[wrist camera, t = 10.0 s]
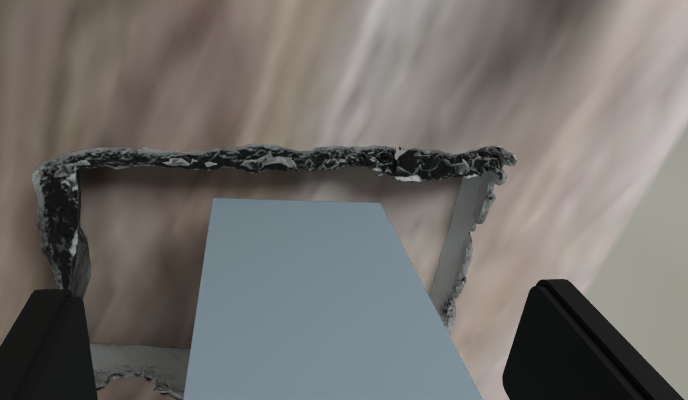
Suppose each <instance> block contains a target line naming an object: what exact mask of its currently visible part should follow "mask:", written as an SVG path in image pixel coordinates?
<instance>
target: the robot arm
mask: <svg viewBox="0 0 688 400" xmlns="http://www.w3.org/2000/svg"><path fill="white" fill-rule="evenodd" d="M503 386H504V389H505V392H506V393H507V395H508V397H509V399H510V400H684V399H683V398H682V397H681V396H680V395H679V394H678V393H677V392H676V391H675V390H674V389H673V388H672V387H671V386H670V385H669V384H668V383H667V382H666V380H664V378H663V377H662V376H661V375H660V374H659V373H658V372H657V371H656V370H655V369H654V368H653V367H652V366H651V365H650V364H649V363H648V362H647V361H646V360H645V359H644V358H643V357H642V356H641V355H640V354H639V353H638V351H636V350H635V348H634V347H633V346H631V344H630V343H629V342H628V341H627V340H626V339H625V338H624V337H623V336H622V335H621V334H620V333H619V332H618V331H617V330H616V329H615V328H614V327H613V326H612V325H611V324H610V323H609V322H608V320H606V318H605V317H604V316H603V315H602V314H601V313H600V312H599V311H598V310H597V309H596V308H595V307H594V306H593V305H592V304H591V303H590V302H589V301H588V300H587V299H586V298H585V297H584V296H583V295H582V294H581V293H580V292H579V290H578V289H577V288H576V287H575V286H574V285H573V284H572V283H571V282H569V281H568V280H565V279H549V280H540V281H539V282H538V283H537V284H536V286H534V287H532V288H531V289H530V291H529V294H528V297H527V300H526V303H525V307H524V310H523V313H522V316H521V319H520V322H519V325H518V329H517V332H516V335H515V338H514V341H513V344H512V347H511V350H510V354H509V357H508V360H507V363H506V366H505V369H504V372H503ZM0 400H98V398H97V391H96V384H95V377H94V371H93V364H92V357H91V350H90V343H89V336H88V330H87V323H86V316H85V309H84V303H83V299H82V297H73V294H72V292H71V290H69V289H46V290H35V291H34V292H33V293H32V294H31V296H30V298H29V299H28V301H27V303H26V304H25V306H24V308H23V309H22V311H21V313H20V314H19V316H18V318H17V319H16V321H15V323H14V324H13V326H12V328H11V330H10V331H9V333H8V335H7V336H6V338H5V340H4V341H3V343H2V345H1V346H0Z"/></svg>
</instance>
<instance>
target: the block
mask: <svg viewBox="0 0 688 400" xmlns="http://www.w3.org/2000/svg"><path fill="white" fill-rule="evenodd" d="M183 400H483V399H482V397H481V395H480V393H479V391H478V390H477V388H476V386H475V384H474V382H473V380H472V378H471V376H470V374H469V372H468V370H467V368H466V367H465V365H464V363H463V361H462V359H461V357H460V355H459V353H458V351H457V349H456V347H455V345H454V344H453V342H452V340H451V338H450V336H449V334H448V332H447V330H446V328H445V326H444V324H443V322H442V321H441V319H440V317H439V315H438V313H437V311H436V309H435V307H434V305H433V303H432V301H431V299H430V298H429V296H428V294H427V292H426V290H425V288H424V286H423V284H422V282H421V280H420V278H419V276H418V275H417V273H416V271H415V269H414V267H413V265H412V263H411V261H410V259H409V257H408V255H407V253H406V252H405V250H404V248H403V246H402V244H401V242H400V240H399V238H398V236H397V234H396V232H395V230H394V229H393V227H392V225H391V223H390V221H389V219H388V217H387V215H386V213H385V211H384V209H383V207H382V206H381V204H380V203H363V202H329V201H295V200H261V199H227V198H213V201H212V208H211V215H210V221H209V228H208V235H207V242H206V249H205V255H204V262H203V269H202V276H201V283H200V289H199V296H198V303H197V310H196V317H195V323H194V330H193V337H192V344H191V351H190V357H189V364H188V371H187V378H186V385H185V391H184V398H183Z"/></svg>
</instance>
